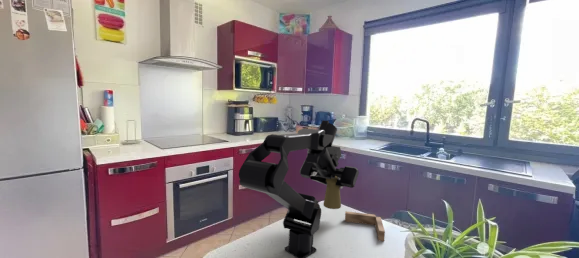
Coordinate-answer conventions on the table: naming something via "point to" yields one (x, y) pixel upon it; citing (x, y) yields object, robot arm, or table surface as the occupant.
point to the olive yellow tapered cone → (332, 194)
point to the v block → (367, 221)
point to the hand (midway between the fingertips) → (334, 185)
